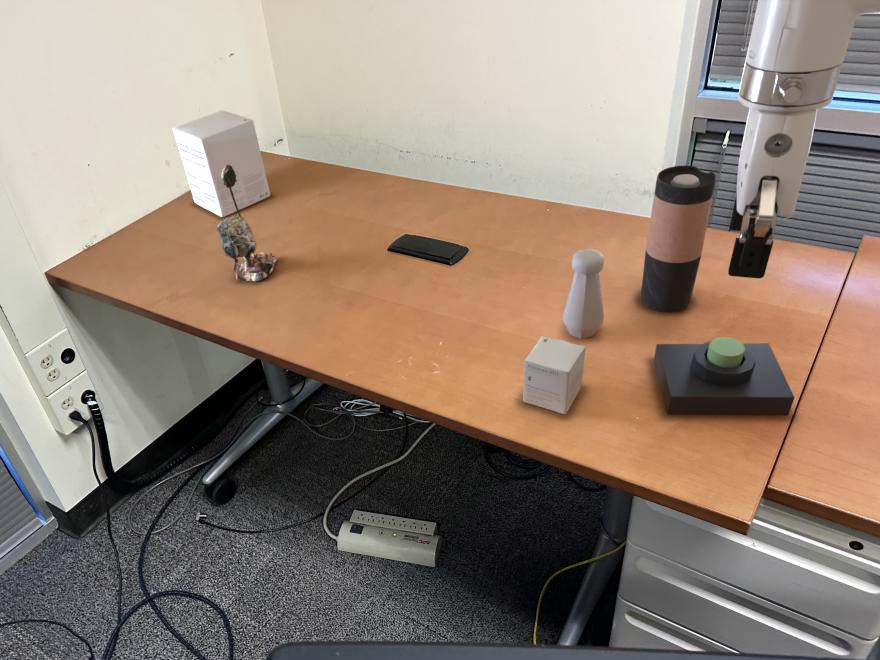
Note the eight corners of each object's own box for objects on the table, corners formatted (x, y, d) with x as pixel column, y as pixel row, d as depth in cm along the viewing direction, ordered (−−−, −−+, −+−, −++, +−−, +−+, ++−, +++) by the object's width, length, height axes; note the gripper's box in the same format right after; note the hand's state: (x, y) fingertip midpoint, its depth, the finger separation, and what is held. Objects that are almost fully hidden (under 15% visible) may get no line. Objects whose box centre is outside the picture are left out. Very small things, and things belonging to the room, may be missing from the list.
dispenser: (763, 360, 93) (772, 330, 89) (788, 415, 84) (799, 384, 81) (653, 361, 95) (658, 331, 92) (667, 414, 87) (673, 384, 84)
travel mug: (640, 312, 104) (658, 188, 92) (637, 286, 110) (654, 165, 97) (694, 314, 102) (721, 187, 90) (688, 286, 108) (713, 164, 95)
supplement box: (241, 183, 164) (222, 108, 153) (271, 196, 156) (254, 118, 145) (193, 203, 158) (170, 127, 147) (222, 218, 150) (200, 139, 139)
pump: (736, 349, 88) (740, 336, 87) (745, 369, 85) (748, 356, 84) (703, 350, 89) (706, 337, 88) (710, 369, 86) (713, 356, 85)
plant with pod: (218, 282, 128) (186, 181, 116) (258, 254, 135) (233, 155, 122) (249, 292, 124) (220, 187, 111) (289, 262, 131) (266, 161, 118)
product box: (521, 402, 92) (522, 359, 88) (539, 376, 96) (541, 334, 91) (566, 416, 89) (569, 372, 85) (582, 388, 93) (586, 345, 88)
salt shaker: (607, 324, 103) (616, 247, 95) (596, 345, 100) (604, 267, 91) (568, 316, 106) (574, 241, 98) (556, 337, 102) (561, 260, 94)
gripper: (846, 116, 54) (789, 300, 65) (828, 53, 66) (782, 216, 77) (740, 116, 57) (702, 292, 67) (741, 54, 69) (709, 212, 79)
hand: (745, 251), depth 72 cm, fingers open, 9 cm apart
